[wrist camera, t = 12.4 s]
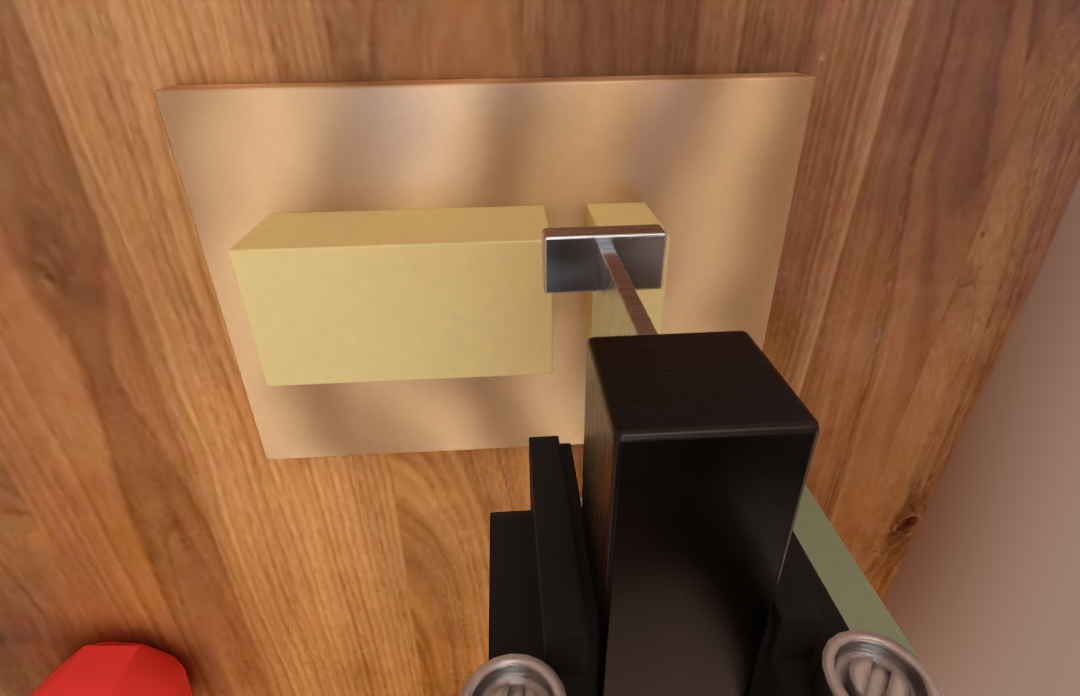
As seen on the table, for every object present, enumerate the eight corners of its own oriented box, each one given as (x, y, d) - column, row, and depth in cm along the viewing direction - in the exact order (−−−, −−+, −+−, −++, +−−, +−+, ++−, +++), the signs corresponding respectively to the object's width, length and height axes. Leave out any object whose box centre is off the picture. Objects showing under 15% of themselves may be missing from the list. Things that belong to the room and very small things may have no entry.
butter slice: (645, 201, 20) (671, 235, 17) (636, 320, 22) (658, 370, 19) (586, 203, 20) (601, 238, 17) (583, 323, 22) (596, 372, 19)
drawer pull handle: (662, 208, 12) (846, 424, 6) (632, 534, 16) (718, 855, 10) (541, 212, 12) (593, 436, 5) (545, 539, 16) (576, 867, 10)
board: (796, 72, 20) (817, 76, 18) (734, 416, 27) (746, 436, 25) (175, 84, 19) (151, 90, 17) (278, 437, 26) (266, 460, 24)
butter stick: (544, 204, 20) (552, 239, 17) (545, 324, 22) (552, 374, 19) (268, 212, 19) (226, 250, 16) (298, 334, 22) (265, 387, 19)
